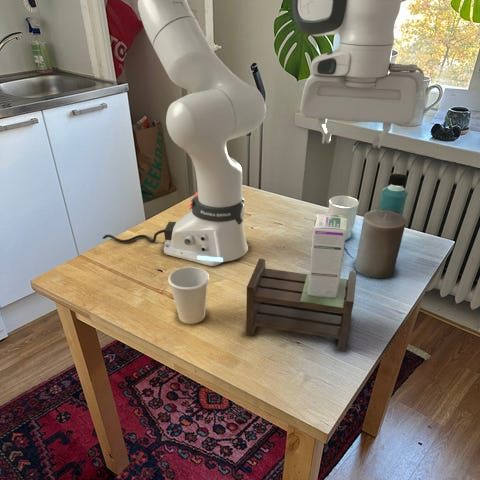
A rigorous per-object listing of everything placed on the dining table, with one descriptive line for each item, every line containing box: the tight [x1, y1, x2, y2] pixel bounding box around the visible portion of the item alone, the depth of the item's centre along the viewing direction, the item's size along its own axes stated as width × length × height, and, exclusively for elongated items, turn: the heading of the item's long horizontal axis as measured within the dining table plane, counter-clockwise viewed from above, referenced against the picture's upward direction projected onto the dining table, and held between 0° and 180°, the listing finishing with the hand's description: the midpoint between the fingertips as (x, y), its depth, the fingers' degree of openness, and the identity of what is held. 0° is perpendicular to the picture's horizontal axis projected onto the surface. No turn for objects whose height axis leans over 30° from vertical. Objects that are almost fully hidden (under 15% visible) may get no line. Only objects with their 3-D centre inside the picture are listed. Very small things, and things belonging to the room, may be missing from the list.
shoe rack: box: [245, 258, 358, 352], centre depth 91 cm, size 20×11×12 cm, turn 76°
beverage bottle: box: [377, 172, 409, 216], centre depth 116 cm, size 6×7×20 cm
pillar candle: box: [354, 209, 407, 279], centre depth 109 cm, size 10×10×15 cm
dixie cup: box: [167, 266, 210, 325], centre depth 95 cm, size 8×8×10 cm
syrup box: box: [307, 213, 347, 298], centre depth 84 cm, size 6×6×14 cm
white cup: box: [327, 195, 360, 241], centre depth 125 cm, size 8×8×10 cm
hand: (350, 145), depth 86 cm, fingers open, 8 cm apart
